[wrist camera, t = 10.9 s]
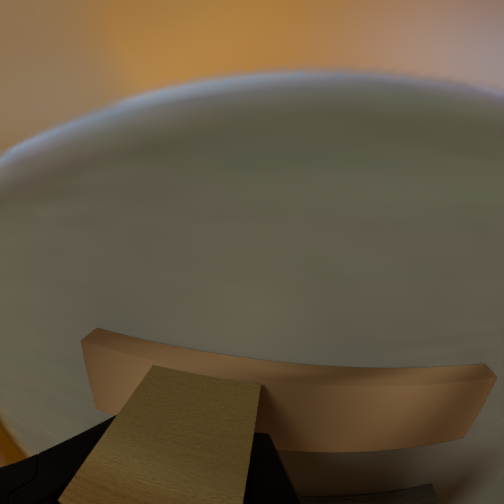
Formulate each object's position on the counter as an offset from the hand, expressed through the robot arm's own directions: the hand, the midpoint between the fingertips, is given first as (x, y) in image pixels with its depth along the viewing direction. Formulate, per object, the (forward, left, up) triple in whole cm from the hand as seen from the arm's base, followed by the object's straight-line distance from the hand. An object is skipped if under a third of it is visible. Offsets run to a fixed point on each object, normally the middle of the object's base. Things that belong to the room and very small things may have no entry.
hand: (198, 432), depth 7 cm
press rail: (-3, 0, -2) cm, 3 cm away
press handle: (0, 0, -1) cm, 1 cm away
